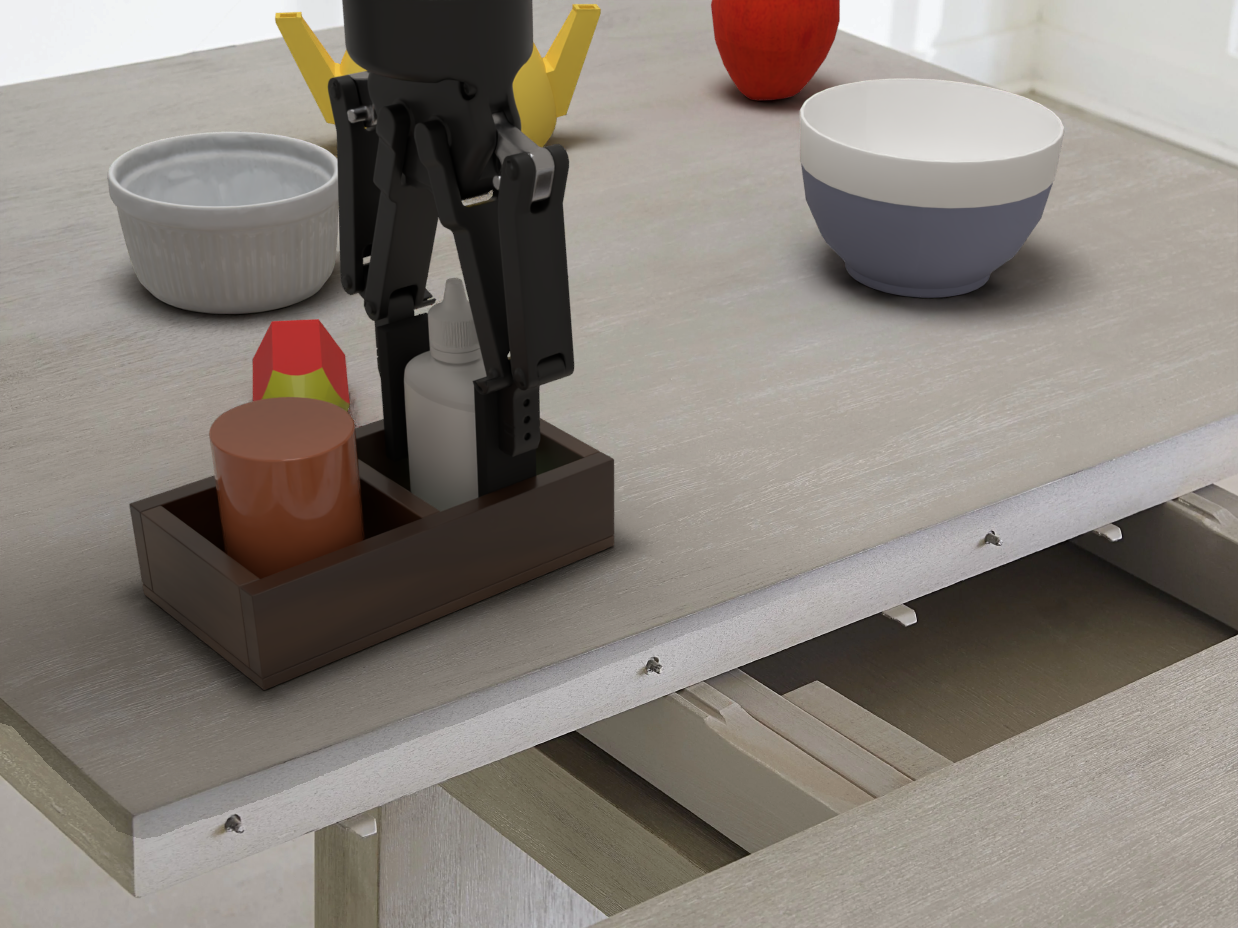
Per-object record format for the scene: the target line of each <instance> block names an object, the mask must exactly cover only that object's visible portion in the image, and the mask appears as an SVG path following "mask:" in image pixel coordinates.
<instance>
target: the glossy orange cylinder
mask: <svg viewBox="0 0 1238 928" xmlns="http://www.w3.org/2000/svg"><path fill="white" fill-rule="evenodd" d="M355 428H356V423H355V420H354V418H353V417H352V415H351V414H350V413H349V412H347V411H345V410H344V409H343V408H341V407H339V406H337V405H334V404H332V403H329V402H326V401H322V400H317V399H311V398H301V397H279V398H269V399H262V400H257V401H253V400H252V401H249V402H246V403H243V404H239V405H236V406H235V407H232V408H230V409H228V410H226V411H224V412H223V413H221V414H220V415H219V416H218V417H217V418H216V419H214V421H213V422H212V423H211V425H210V428H209V432H208V438H209V446H210V453H211V460H212V466H213V468H212V469H213V476H214V475H215V483H216V490H217V498H218V505H219V512H220V520H221V527H222V535H223V542H224V549H225V553H226V554H227V555H228V556H230V557H231V558H232V559H234V560H235V561H236V562H238V563H239V564H241V565H242V566H243V567H245V568H246V569H247V570H249V571H250V572H251V573H253V574H254V575H255V576H257V577H258V578H259V579H262V578H265V577H267V576H270V575H273V574H275V573H278V572H281V571H283V570H286V569H289V568H291V567H294V566H297V565H299V564H302V563H305V562H307V561H310V560H313V559H315V558H318V557H321V556H323V555H326V554H329V553H331V552H334V551H337V550H339V549H342V548H345V547H347V546H350V545H353V544H355V543H358V542H361V541H363V540H365V534H364V522H363V511H362V499H361V488H360V476H359V464H358V453H357V441H356V430H355Z"/></svg>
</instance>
